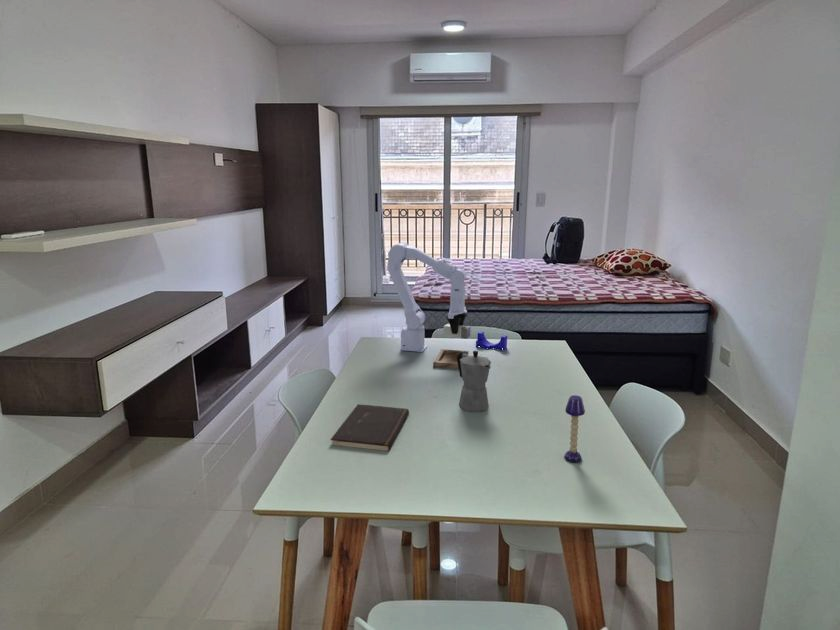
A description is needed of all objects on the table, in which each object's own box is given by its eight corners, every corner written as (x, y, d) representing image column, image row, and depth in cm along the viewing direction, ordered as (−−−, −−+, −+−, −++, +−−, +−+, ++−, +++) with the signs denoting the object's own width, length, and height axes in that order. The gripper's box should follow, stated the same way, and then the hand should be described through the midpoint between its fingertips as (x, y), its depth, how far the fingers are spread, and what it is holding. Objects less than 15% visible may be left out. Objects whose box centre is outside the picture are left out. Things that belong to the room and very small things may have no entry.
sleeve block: (443, 335, 217) (443, 325, 216) (447, 333, 221) (447, 323, 220) (466, 338, 213) (467, 328, 212) (470, 336, 217) (470, 326, 216)
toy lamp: (567, 464, 133) (573, 401, 129) (558, 455, 138) (562, 394, 134) (584, 461, 135) (590, 399, 131) (574, 452, 139) (579, 392, 135)
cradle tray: (433, 367, 201) (433, 362, 201) (441, 353, 216) (441, 349, 216) (462, 369, 199) (462, 364, 198) (468, 356, 214) (468, 351, 213)
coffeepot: (499, 410, 164) (502, 354, 160) (475, 417, 159) (477, 359, 155) (468, 393, 177) (469, 341, 172) (444, 399, 172) (445, 346, 167)
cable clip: (475, 347, 226) (476, 333, 224) (480, 344, 229) (480, 331, 228) (502, 352, 220) (503, 338, 218) (506, 349, 224) (507, 335, 222)
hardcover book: (330, 446, 142) (330, 439, 142) (358, 411, 164) (357, 404, 164) (389, 453, 139) (389, 445, 139) (409, 415, 161) (409, 408, 161)
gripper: (460, 303, 205) (459, 338, 209) (473, 296, 218) (472, 328, 222) (443, 302, 208) (442, 335, 212) (457, 295, 221) (456, 326, 224)
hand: (456, 332), depth 217 cm, fingers closed on sleeve block, 4 cm apart
